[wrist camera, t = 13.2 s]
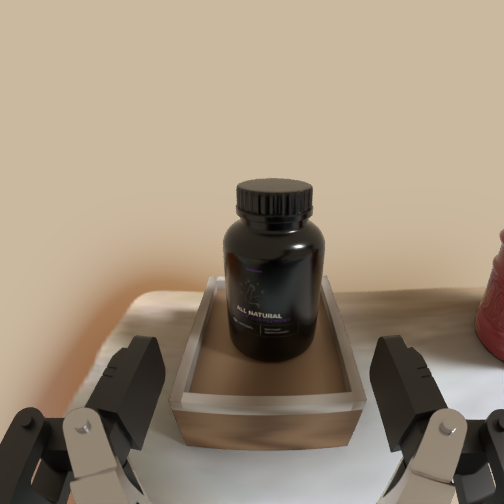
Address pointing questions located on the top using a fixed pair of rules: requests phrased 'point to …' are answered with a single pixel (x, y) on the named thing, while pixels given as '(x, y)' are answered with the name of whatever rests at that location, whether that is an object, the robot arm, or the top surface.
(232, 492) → the top surface
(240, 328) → the supplement bottle
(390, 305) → the top surface
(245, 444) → the open rectangular tray
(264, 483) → the top surface
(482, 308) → the canister
